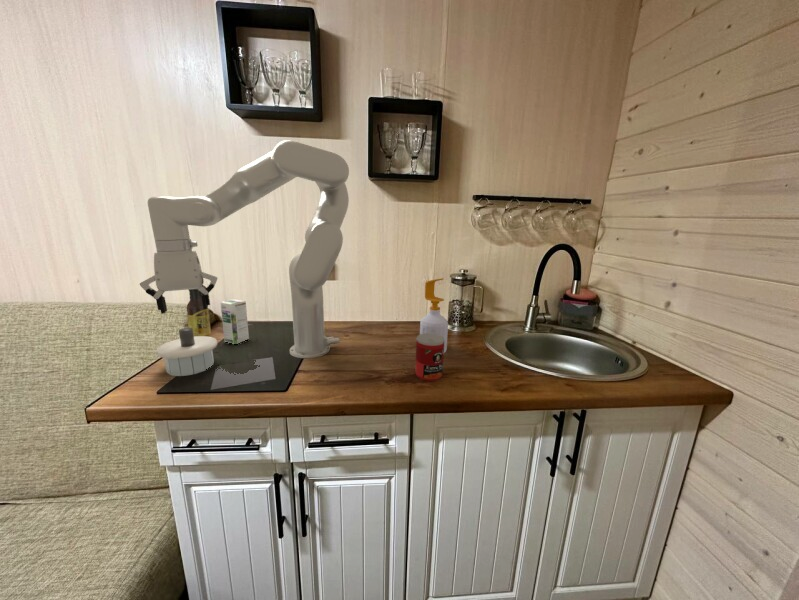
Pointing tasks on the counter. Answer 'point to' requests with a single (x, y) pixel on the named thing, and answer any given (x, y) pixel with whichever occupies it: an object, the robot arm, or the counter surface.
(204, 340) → the lid
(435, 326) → the soap bottle
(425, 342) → the canned food
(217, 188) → the robot arm
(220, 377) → the mat
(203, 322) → the sauce bottle
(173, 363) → the bowl
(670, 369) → the counter surface
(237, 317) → the syrup box
